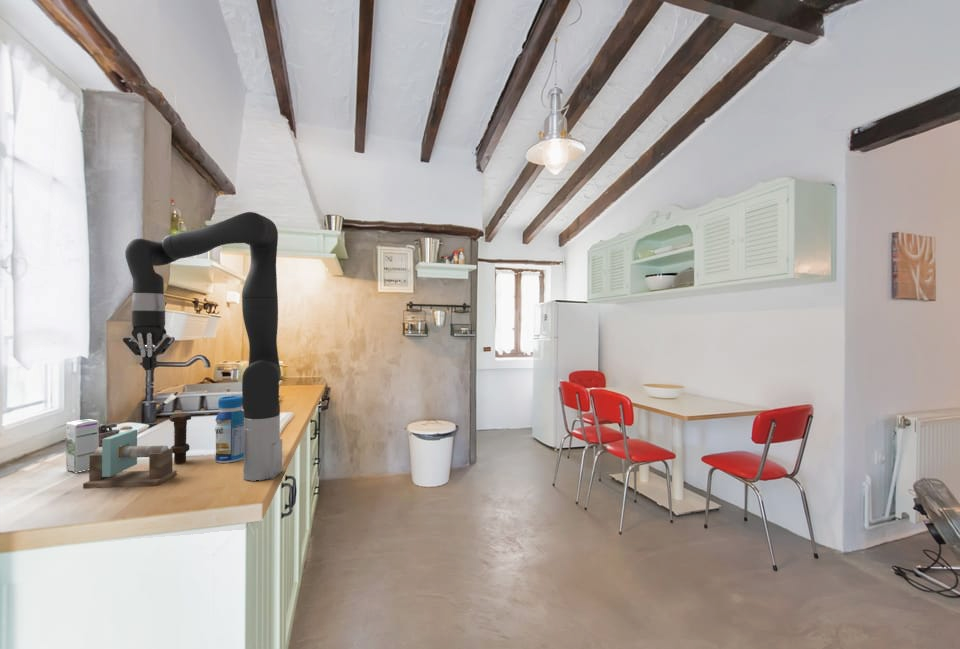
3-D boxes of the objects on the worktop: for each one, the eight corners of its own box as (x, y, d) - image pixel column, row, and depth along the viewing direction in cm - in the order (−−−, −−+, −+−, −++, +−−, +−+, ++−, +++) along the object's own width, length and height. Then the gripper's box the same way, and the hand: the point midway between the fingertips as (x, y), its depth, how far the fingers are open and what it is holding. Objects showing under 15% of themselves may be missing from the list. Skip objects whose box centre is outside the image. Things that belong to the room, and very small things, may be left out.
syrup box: (99, 467, 127) (100, 419, 127) (74, 474, 122) (74, 424, 122) (90, 465, 129) (90, 418, 129) (64, 471, 124) (65, 422, 124)
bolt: (178, 466, 129) (178, 417, 129) (164, 465, 130) (165, 416, 130) (194, 460, 134) (195, 413, 135) (181, 459, 136) (181, 412, 136)
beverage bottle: (246, 460, 134) (246, 398, 134) (214, 465, 130) (215, 400, 130) (244, 454, 141) (244, 394, 141) (214, 458, 137) (215, 396, 137)
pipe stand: (176, 474, 122) (176, 440, 122) (156, 485, 113) (156, 450, 113) (109, 475, 120) (109, 442, 120) (83, 488, 111) (83, 451, 111)
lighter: (89, 458, 136) (89, 427, 136) (86, 456, 137) (86, 426, 137) (121, 452, 142) (121, 422, 143) (117, 450, 144) (117, 421, 144)
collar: (136, 464, 122) (137, 429, 122) (110, 476, 112) (110, 438, 112) (129, 464, 121) (129, 429, 121) (102, 476, 111) (102, 439, 111)
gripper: (181, 310, 125) (181, 368, 125) (132, 310, 124) (133, 369, 124) (165, 309, 118) (166, 371, 118) (113, 309, 116) (114, 372, 116)
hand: (149, 369), depth 121 cm, fingers closed
